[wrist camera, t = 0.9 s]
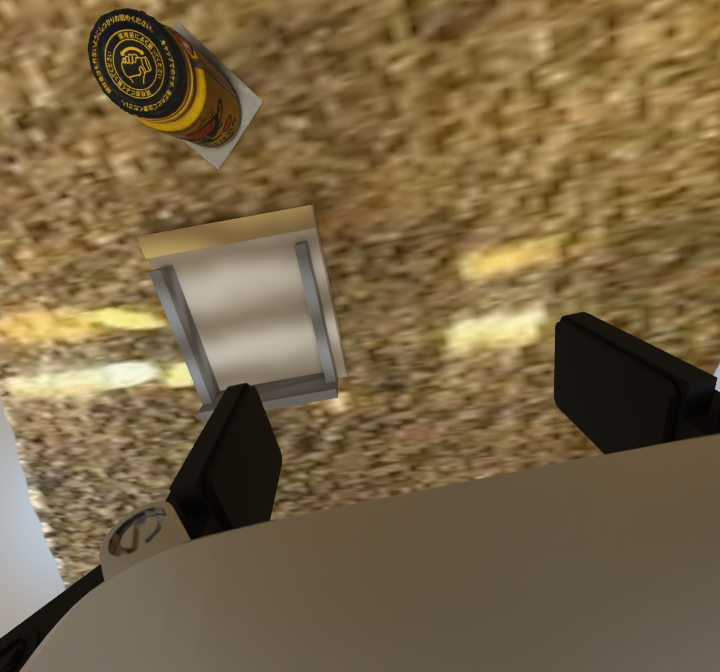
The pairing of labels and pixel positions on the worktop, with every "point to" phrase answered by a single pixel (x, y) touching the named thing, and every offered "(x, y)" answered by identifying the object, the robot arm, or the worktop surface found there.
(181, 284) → the dock
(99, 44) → the condiment
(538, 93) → the worktop surface
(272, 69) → the worktop surface
